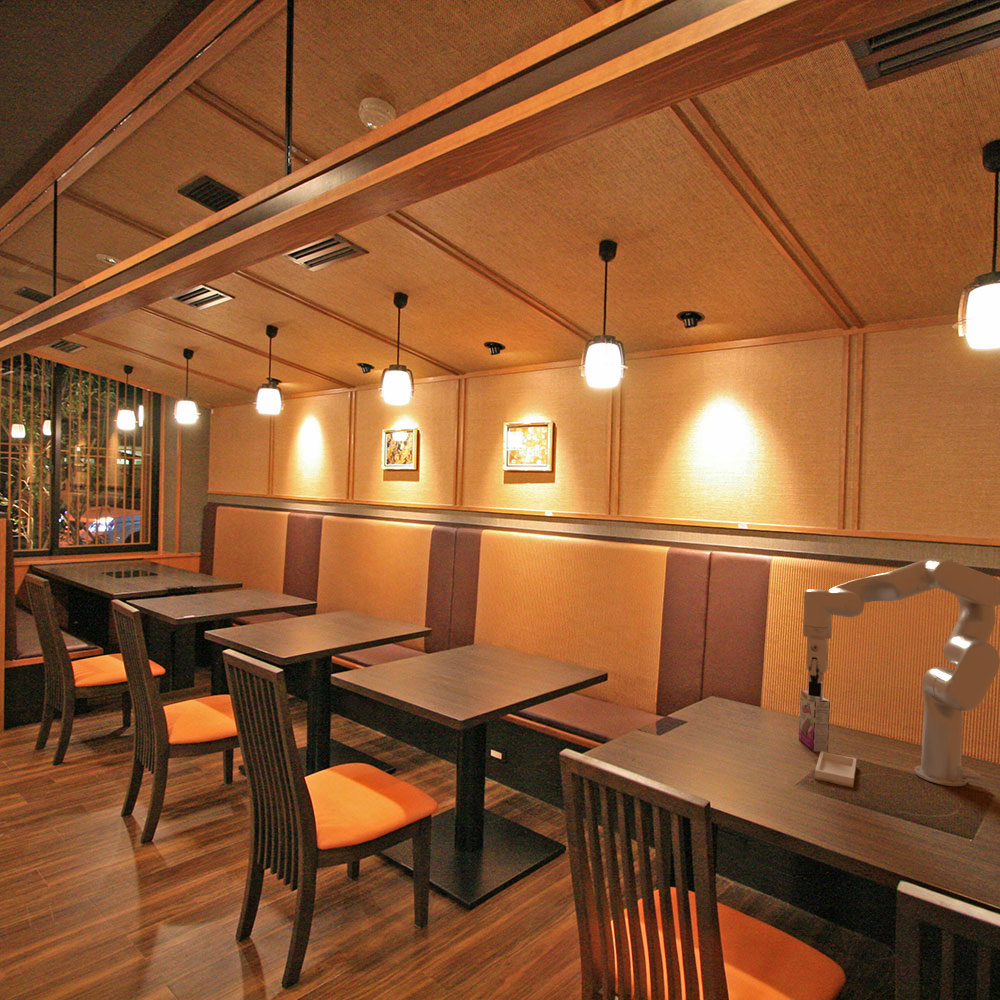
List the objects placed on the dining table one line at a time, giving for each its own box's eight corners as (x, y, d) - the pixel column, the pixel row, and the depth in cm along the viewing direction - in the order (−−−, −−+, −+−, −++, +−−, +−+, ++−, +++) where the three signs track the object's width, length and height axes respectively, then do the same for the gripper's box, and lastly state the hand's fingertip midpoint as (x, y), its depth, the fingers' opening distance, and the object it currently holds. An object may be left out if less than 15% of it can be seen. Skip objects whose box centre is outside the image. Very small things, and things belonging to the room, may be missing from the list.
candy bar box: (797, 739, 222) (799, 689, 222) (812, 740, 222) (815, 690, 222) (812, 752, 211) (815, 699, 211) (828, 753, 211) (831, 700, 211)
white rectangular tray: (856, 766, 200) (856, 758, 200) (853, 787, 185) (853, 778, 185) (820, 759, 205) (820, 751, 205) (814, 778, 190) (815, 769, 190)
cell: (823, 698, 200) (824, 671, 200) (822, 702, 196) (822, 674, 196) (808, 696, 202) (809, 669, 202) (806, 699, 198) (807, 672, 198)
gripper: (828, 638, 190) (826, 703, 190) (833, 628, 204) (832, 689, 204) (799, 634, 194) (797, 698, 194) (806, 625, 208) (805, 685, 208)
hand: (815, 693), depth 199 cm, fingers closed on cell, 4 cm apart
